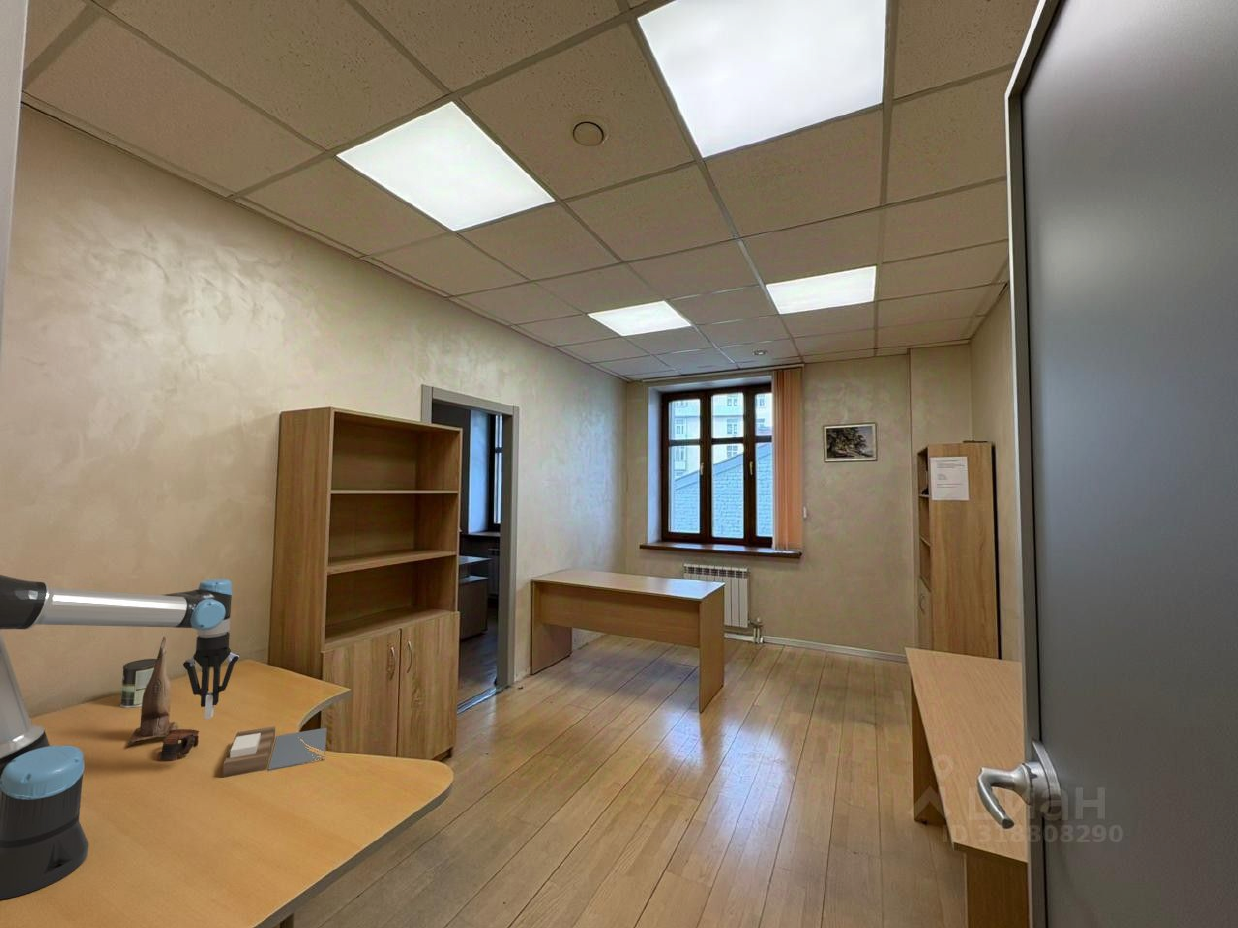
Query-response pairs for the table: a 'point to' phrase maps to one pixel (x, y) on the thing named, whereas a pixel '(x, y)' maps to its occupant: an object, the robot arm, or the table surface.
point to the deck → (253, 760)
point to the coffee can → (135, 682)
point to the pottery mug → (172, 746)
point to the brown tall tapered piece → (156, 702)
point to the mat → (297, 748)
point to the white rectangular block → (245, 745)
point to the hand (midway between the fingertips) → (208, 716)
